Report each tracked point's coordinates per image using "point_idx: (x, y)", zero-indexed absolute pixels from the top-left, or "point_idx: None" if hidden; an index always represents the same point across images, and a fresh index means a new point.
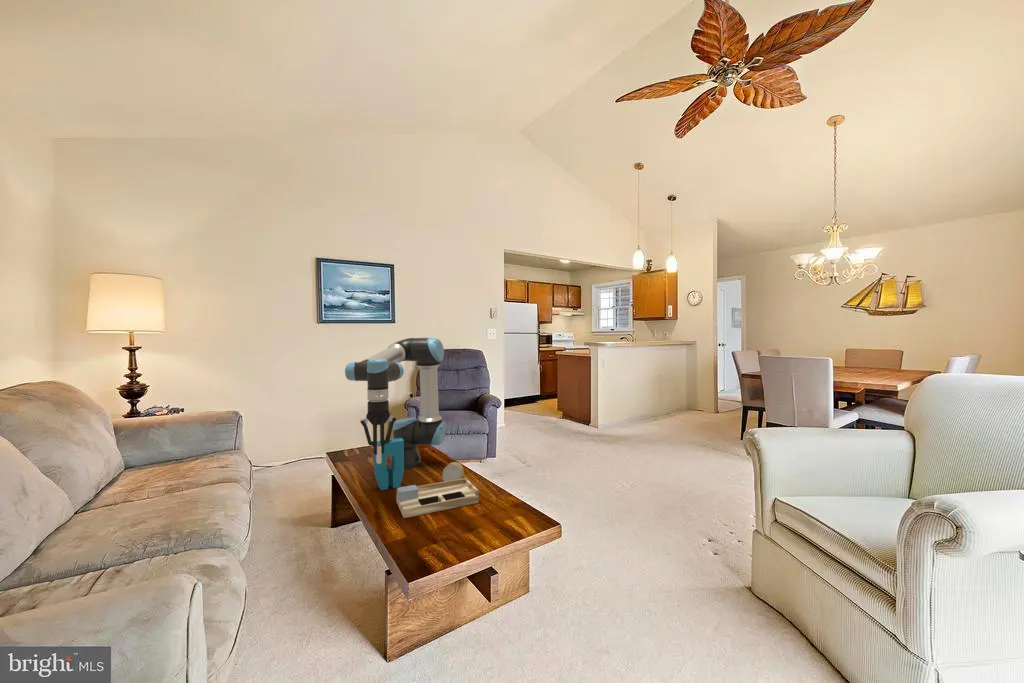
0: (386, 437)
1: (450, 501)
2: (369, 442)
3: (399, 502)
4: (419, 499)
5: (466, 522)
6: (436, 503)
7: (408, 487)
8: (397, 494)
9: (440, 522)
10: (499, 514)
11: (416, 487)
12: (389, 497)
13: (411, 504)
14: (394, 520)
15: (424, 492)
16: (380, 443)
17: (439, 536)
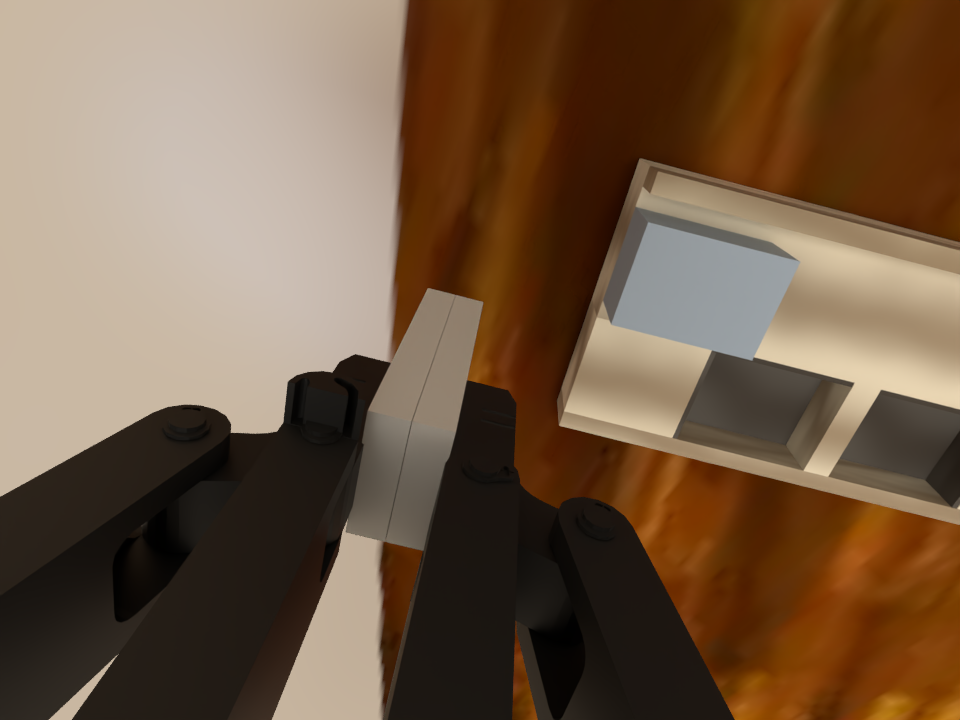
0: (583, 606)
1: (841, 493)
2: (148, 567)
3: (604, 289)
4: (723, 354)
5: (759, 614)
6: (757, 474)
7: (720, 279)
8: (636, 217)
9: (672, 546)
10: (929, 650)
11: (765, 323)
12: (648, 16)
13: (636, 390)
14: (506, 389)
15: (831, 273)
16: (437, 493)
17: None
